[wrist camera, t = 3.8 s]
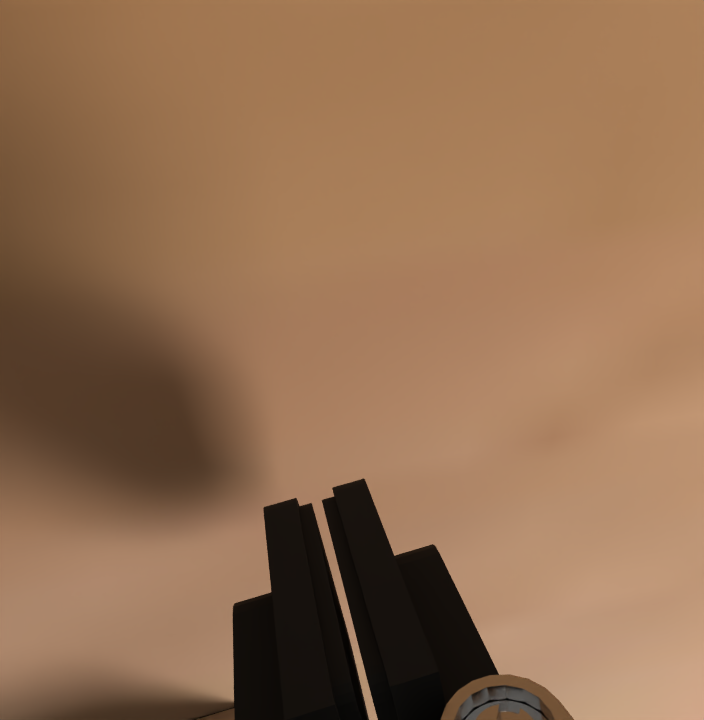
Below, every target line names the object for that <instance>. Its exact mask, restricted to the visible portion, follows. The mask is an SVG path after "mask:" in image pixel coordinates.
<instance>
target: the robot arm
mask: <svg viewBox="0 0 704 720" xmlns="http://www.w3.org/2000/svg"><path fill="white" fill-rule="evenodd" d="M332 489H333V493H334V497H331V498H327V499H324V500H322V503H323V507H324V511H325V515H326V518H327V522H328V526H329V530H330V534H331V538H332V542H333V546H334V550H335V554H336V558H337V562H338V566H339V570H340V574H341V578H342V582H343V586H344V589H345V593H346V597H347V601H348V605H349V609H350V613H351V617H352V621H353V625H354V629H355V633H356V637H357V641H358V645H359V649H360V653H361V657H362V660H363V664H364V668H365V672H366V676H367V680H368V684H369V688H370V691H371V695H372V699H373V703H374V707H375V710H376V714H377V718H378V720H574V719H573V718H572V716H571V715H570V714H569V712H568V711H567V710H566V709H565V707H564V706H563V705H562V704H561V702H560V701H559V700H558V699H557V698H556V697H555V696H554V695H553V694H551V693H550V692H549V691H548V690H547V689H546V688H545V687H543V686H541V685H539V684H537V683H535V682H533V681H531V680H530V679H527V678H522V677H518V676H514V675H499V674H498V672H497V670H496V668H495V666H494V663H493V661H492V659H491V657H490V655H489V653H488V651H487V649H486V647H485V645H484V643H483V641H482V639H481V637H480V635H479V633H478V631H477V629H476V627H475V625H474V623H473V621H472V619H471V617H470V615H469V613H468V611H467V609H466V606H465V604H464V602H463V600H462V598H461V596H460V594H459V592H458V590H457V588H456V586H455V584H454V582H453V580H452V578H451V576H450V574H449V572H448V570H447V568H446V566H445V564H444V562H443V560H442V558H441V556H440V554H439V552H438V550H437V548H436V547H435V546H434V545H433V544H432V545H429V546H426V547H422V548H419V549H416V550H412V551H409V552H406V553H402V554H399V555H396V556H394V554H393V551H392V549H391V546H390V544H389V541H388V538H387V536H386V533H385V531H384V528H383V525H382V523H381V520H380V518H379V515H378V512H377V510H376V507H375V505H374V502H373V499H372V497H371V494H370V492H369V489H368V487H367V484H366V481H365V479H361V480H358V481H354V482H351V483H347V484H344V485H340V486H337V487H333V488H332ZM264 520H265V530H266V540H267V550H268V560H269V570H270V580H271V590H272V592H271V593H268V594H265V595H261V596H258V597H255V598H251V599H248V600H244V601H241V602H238V603H235V604H234V606H233V657H234V716H235V720H369V718H368V714H367V710H366V706H365V701H364V697H363V693H362V689H361V685H360V680H359V676H358V672H357V668H356V664H355V660H354V655H353V651H352V647H351V643H350V639H349V635H348V632H347V628H346V624H345V621H344V617H343V614H342V610H341V606H340V603H339V599H338V596H337V592H336V589H335V585H334V581H333V578H332V574H331V571H330V567H329V563H328V560H327V556H326V553H325V549H324V546H323V542H322V538H321V535H320V531H319V528H318V524H317V520H316V517H315V513H314V510H313V506H312V503H310V504H306V505H303V506H299V504H298V501H297V498H294V499H291V500H287V501H284V502H280V503H277V504H273V505H270V506H266V507H264Z"/></svg>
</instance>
